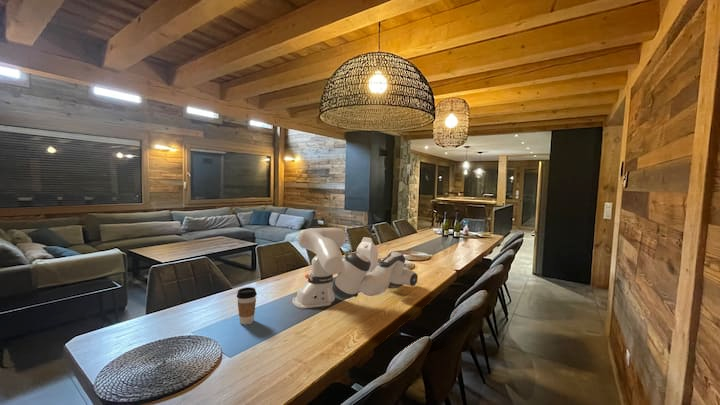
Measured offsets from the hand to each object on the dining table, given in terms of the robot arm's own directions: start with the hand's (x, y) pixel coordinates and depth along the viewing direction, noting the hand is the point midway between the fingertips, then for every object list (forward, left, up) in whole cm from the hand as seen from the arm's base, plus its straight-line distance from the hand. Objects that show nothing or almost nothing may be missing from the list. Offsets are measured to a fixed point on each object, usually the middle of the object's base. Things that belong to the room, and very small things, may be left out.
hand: (382, 266), depth 191 cm
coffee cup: (-85, -14, -11) cm, 86 cm away
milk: (-1, +18, -11) cm, 21 cm away
